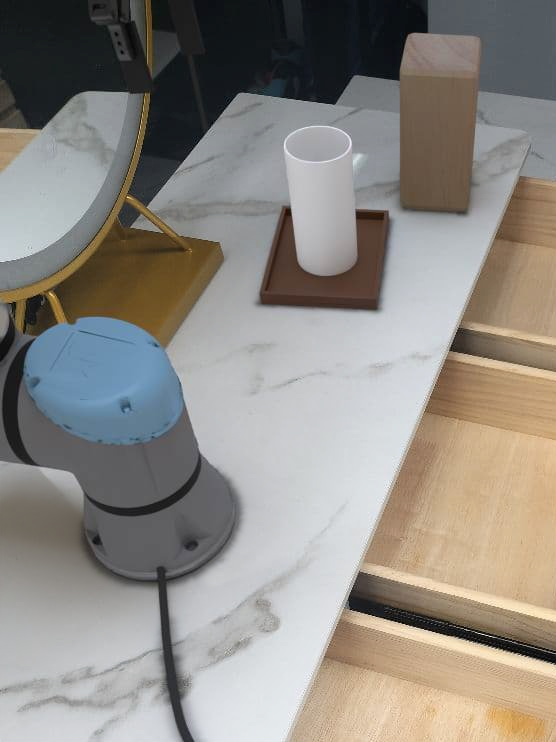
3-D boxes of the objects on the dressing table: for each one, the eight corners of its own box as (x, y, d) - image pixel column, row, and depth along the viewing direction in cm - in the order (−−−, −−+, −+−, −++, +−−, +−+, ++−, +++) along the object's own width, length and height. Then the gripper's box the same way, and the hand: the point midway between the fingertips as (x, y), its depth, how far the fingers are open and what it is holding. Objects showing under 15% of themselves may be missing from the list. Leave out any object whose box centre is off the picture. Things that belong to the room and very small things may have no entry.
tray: (376, 309, 106) (376, 298, 104) (261, 303, 106) (259, 293, 105) (389, 220, 117) (388, 210, 115) (283, 216, 117) (282, 205, 116)
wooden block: (471, 175, 123) (482, 32, 107) (468, 214, 118) (479, 70, 101) (406, 171, 124) (406, 29, 107) (399, 210, 118) (398, 66, 102)
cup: (288, 247, 112) (273, 134, 99) (343, 232, 114) (336, 119, 101) (310, 282, 108) (297, 169, 95) (367, 266, 110) (362, 153, 97)
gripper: (66, -168, 67) (150, 109, 82) (189, -196, 84) (240, 38, 99) (-11, -157, 69) (85, 112, 84) (124, -187, 86) (184, 41, 101)
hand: (169, 72), depth 91 cm, fingers open, 13 cm apart
